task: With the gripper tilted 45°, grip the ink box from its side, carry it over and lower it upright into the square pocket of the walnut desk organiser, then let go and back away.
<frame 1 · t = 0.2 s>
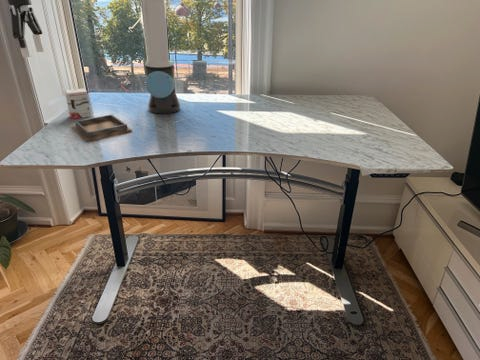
hand: (34, 54, 135), 28 cm above the table, tool pointing down, fingers open, 13 cm apart
ink box: (81, 116, 155), on the table
organiser: (101, 129, 141), on the table
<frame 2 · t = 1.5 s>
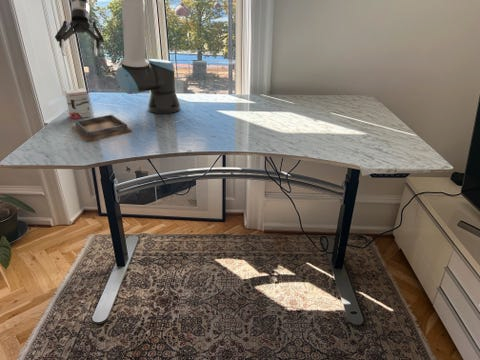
hand: (79, 54, 152), 25 cm above the table, tool tilted 45°, fingers open, 13 cm apart
nothing on the table moved.
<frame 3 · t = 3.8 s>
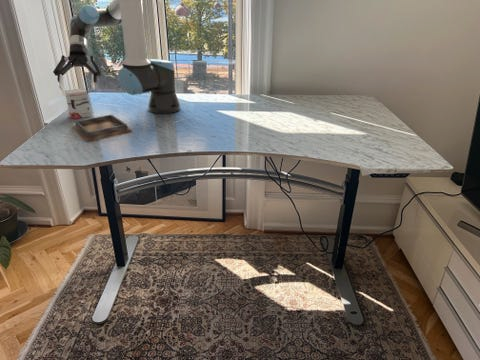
hand: (77, 88, 154), 11 cm above the table, tool tilted 45°, fingers open, 13 cm apart
nothing on the table moved.
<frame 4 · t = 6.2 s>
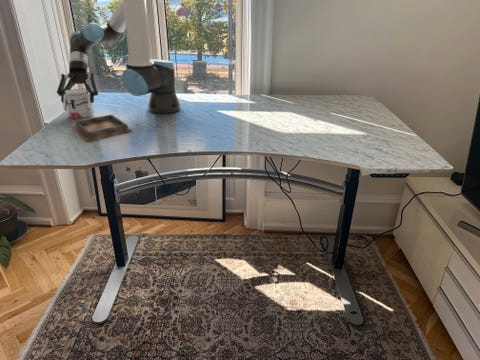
hand: (77, 109, 150), 4 cm above the table, tool tilted 45°, fingers closed on ink box, 9 cm apart
ink box: (81, 116, 155), on the table, touching gripper
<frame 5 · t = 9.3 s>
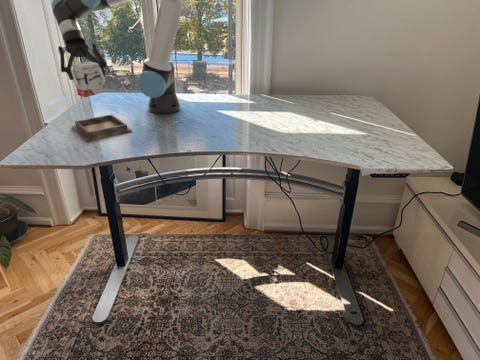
hand: (90, 84, 131), 19 cm above the table, tool tilted 45°, fingers closed on ink box, 9 cm apart
ink box: (90, 94, 136), point 14 cm above the table, touching gripper
when the fingers open (6 cm above the table, at t = 12.5 s): ink box stays where it is, resting on organiser.
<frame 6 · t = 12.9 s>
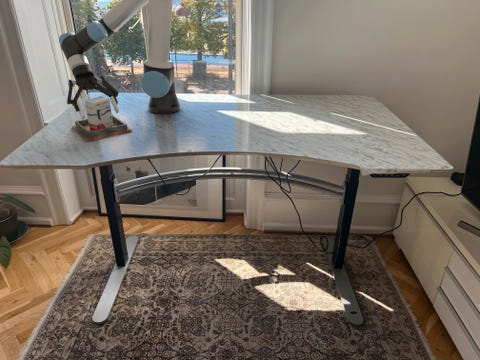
hand: (101, 114, 136), 7 cm above the table, tool tilted 45°, fingers open, 13 cm apart
ink box: (102, 127, 141), point 1 cm above the table, touching organiser
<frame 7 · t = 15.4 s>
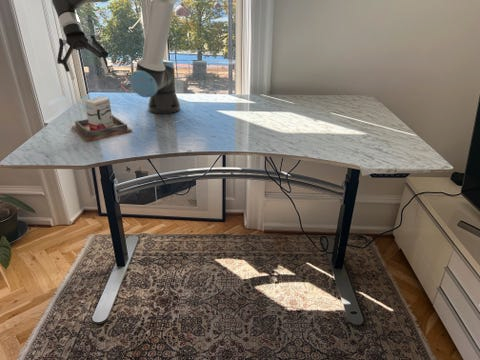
hand: (90, 75, 141), 19 cm above the table, tool tilted 35°, fingers open, 13 cm apart
nothing on the table moved.
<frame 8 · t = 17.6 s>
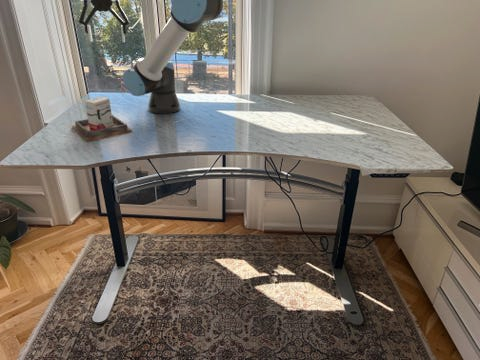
hand: (107, 41, 149), 31 cm above the table, tool pointing down, fingers open, 13 cm apart
nothing on the table moved.
at the end: ink box 0.1 cm off-centre on the organiser, point 0.8 cm above the organiser's base; ink box tilted 0°; the gripper is holding nothing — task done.
